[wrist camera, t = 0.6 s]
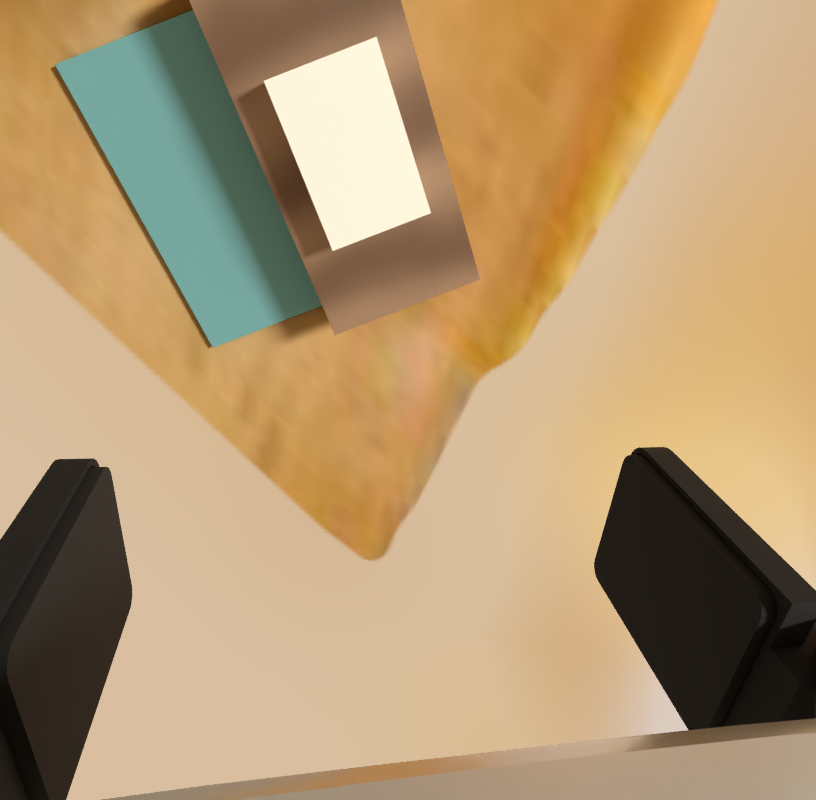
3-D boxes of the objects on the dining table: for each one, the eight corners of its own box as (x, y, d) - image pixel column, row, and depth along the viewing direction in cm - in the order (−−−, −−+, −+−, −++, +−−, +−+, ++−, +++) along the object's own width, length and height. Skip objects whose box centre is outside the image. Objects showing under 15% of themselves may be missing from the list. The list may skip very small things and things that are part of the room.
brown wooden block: (191, -13, 32) (177, -27, 28) (363, -82, 32) (371, -104, 28) (332, 314, 41) (334, 335, 38) (464, 263, 41) (480, 279, 38)
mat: (57, 64, 32) (54, 64, 32) (200, 8, 32) (199, 7, 32) (213, 345, 41) (212, 347, 41) (326, 301, 41) (327, 303, 41)
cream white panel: (265, 81, 31) (263, 80, 29) (372, 40, 31) (376, 36, 29) (331, 243, 35) (332, 251, 33) (424, 207, 35) (431, 213, 33)
